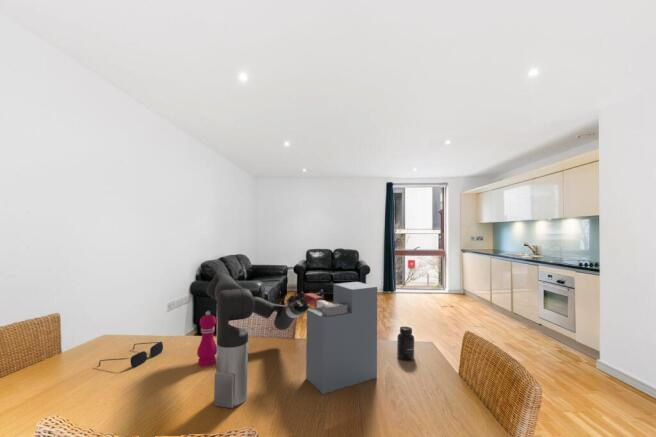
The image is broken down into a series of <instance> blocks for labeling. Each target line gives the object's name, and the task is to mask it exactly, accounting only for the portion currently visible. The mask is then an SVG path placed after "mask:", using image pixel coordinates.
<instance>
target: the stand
mask: <svg viewBox="0 0 656 437" xmlns="http://www.w3.org/2000/svg"><path fill="white" fill-rule="evenodd" d="M332 288H333V292H332V293H333V297H332V299H333V300H332V301H333V303H332V304H337V303H344V304H347V314H342V315H335V316H329V317H326V316H324V315H322V310H321V309H319V308H317V307H312V308H308V309H307V311H306V345H305V346H306V347H305V348H306V349H305V350H306V353H305V356H306V357H305V360H306V362H305V363H306V364H305V372H306V373H305V379H306V380H307V381H308V382H310V384H312V386H314V387H315V389H317V390H318V391H319V392H320V393H321V394H322V395H325V394H329V393H332V392H335V390H336V391H338V390H337V389H339V390H341V388H342V389H344V387H345V388H348V387H351V386H355V385H357V384H358V385H359V384H361V383H364V381H365V382H367V381H371V380H373V379H377V378H378V286H376V285H372V284H367V283H364V282H361V281H351V282H341V283H333V287H332ZM328 392H329V393H328Z"/></svg>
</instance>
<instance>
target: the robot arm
mask: <svg viewBox="0 0 656 437" xmlns="http://www.w3.org/2000/svg"><path fill="white" fill-rule="evenodd" d="M205 293H206V295H208V297H210V298H212V299H214V300H216V324H217V325H216V326H217V329H216V330H217V331H216V346H217V353H216V362H215V363H216V364H215V366H216V369H215V371H216V372H214V385H213V386H214V389H213V390H214V392H213V395H214V396H213V406H217V407H221V408H226V409H228V408H229V409H233V408H234V407H237V406H239V405H241V404H243V403H244V402H245V401H247V398H248V368H249V366H248V365H249V364H248V361H249V360H248V358H249V356H248V355H249V354H248V353H249V333H248V331H247V330H246V329H244V328H241V327H236V326H234V325H231V324H230V323H229V322H231V321H232V322H233V321H237V320H238V321H241V320H245V319H249V318H250V317H251V316H252V315H253V313H254V314H256V315H257V316H260V317H262V318H264V319H269V318H270V317H271V316H272V314H273V313H275V312H276V315H275V317H274V321H273V324H274V327H275V328H276V329H277V330H279V331H285V330H287V329H288V328H290V326H291V325H292V323H293V322H294V320H295V319H297V318H298V317H300V316H301V315H303V314H304V313H307V309H310V305H309V304H307V303H305V302H304V294H305V293H304V292H303V291H300V293H298V294H296V295H290V297H288V298H287V300H286V305H282V304H277V303H272V302H270V301H268V300H267V299H264V298H262V297H259V296H254V295H253V293H252V292H251V290H250V289H248V288H244V287H242V286H241V285H240V284H238V283H237V282H236V281H235V279H234V278H233V277H232V276H231V275H229V274H227V273H224V272H217V273H216V274H214V276H213V278H212V280H210V283H209V284H208V286H207V288H206V290H205ZM314 294H315V295H318V296H320V297H323V300H324V299H325V291H324V290H323V289H320V290H318V292H316V293H314Z"/></svg>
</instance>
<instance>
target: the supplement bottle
mask: <svg viewBox="0 0 656 437" xmlns="http://www.w3.org/2000/svg"><path fill="white" fill-rule="evenodd" d="M396 340H397V341H396V342H397V345H396V356H397V358H398V359H400V360H402V361H412V360H414V358H415V335H413V329H412V327H409V326H400V328H399V333H398V334H397V338H396Z"/></svg>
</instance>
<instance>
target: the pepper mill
mask: <svg viewBox="0 0 656 437" xmlns="http://www.w3.org/2000/svg"><path fill="white" fill-rule="evenodd" d="M216 324H217V317H216V316H215V315H214V314H211V311H210V310H207V311H206V312H205V314H204V315H203V316H202V317H201V318H200V319H199V326H200V333H201V340H200V343H199V346H198V348H197V352H196V354H197V356H198V360H197V361H198V362H197V363H198V366H200V367H210V366H212V365H214V364H215V363H216V360H217V343H216V341H215V339H214V332H215V328H216V327H215V326H216Z"/></svg>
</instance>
